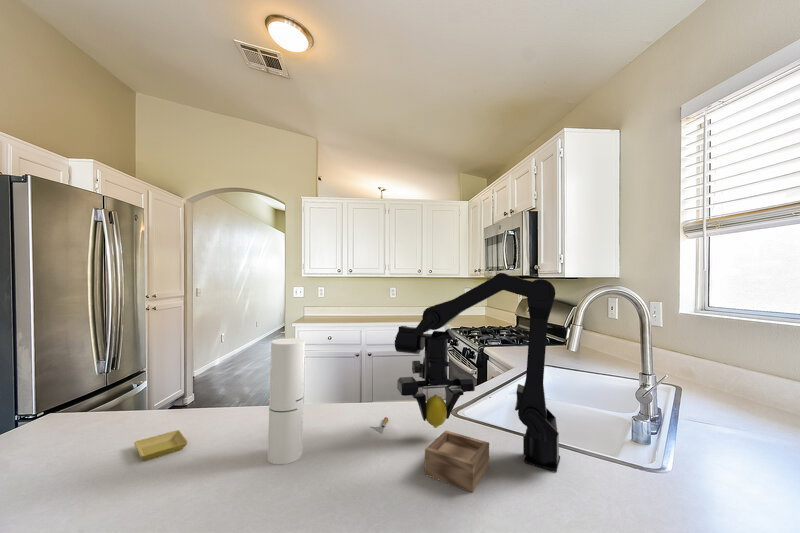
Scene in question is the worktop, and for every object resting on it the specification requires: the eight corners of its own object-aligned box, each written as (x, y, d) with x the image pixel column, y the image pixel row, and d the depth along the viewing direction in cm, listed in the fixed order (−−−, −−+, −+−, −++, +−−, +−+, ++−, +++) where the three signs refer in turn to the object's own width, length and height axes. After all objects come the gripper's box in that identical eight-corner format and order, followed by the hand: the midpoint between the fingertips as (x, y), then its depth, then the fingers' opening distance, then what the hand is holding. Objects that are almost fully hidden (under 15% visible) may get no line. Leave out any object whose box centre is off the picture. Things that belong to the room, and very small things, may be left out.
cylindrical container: (308, 451, 74) (311, 340, 75) (285, 467, 67) (288, 345, 68) (284, 444, 77) (287, 337, 78) (260, 459, 70) (264, 342, 71)
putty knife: (358, 445, 79) (379, 447, 78) (358, 440, 79) (379, 441, 78) (371, 419, 92) (389, 420, 91) (371, 415, 92) (389, 416, 91)
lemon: (448, 433, 78) (448, 399, 78) (424, 432, 78) (425, 398, 79) (445, 423, 84) (445, 391, 84) (423, 422, 84) (424, 390, 84)
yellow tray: (188, 451, 74) (188, 442, 74) (139, 466, 67) (140, 456, 67) (178, 438, 80) (179, 429, 80) (133, 451, 73) (133, 441, 73)
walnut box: (489, 466, 69) (489, 442, 69) (472, 492, 60) (472, 464, 60) (445, 452, 74) (445, 430, 74) (424, 474, 65) (425, 449, 66)
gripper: (458, 348, 92) (458, 404, 91) (393, 350, 88) (392, 409, 87) (475, 357, 81) (475, 421, 80) (402, 360, 77) (401, 427, 76)
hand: (435, 419), depth 81 cm, fingers closed on lemon, 5 cm apart
